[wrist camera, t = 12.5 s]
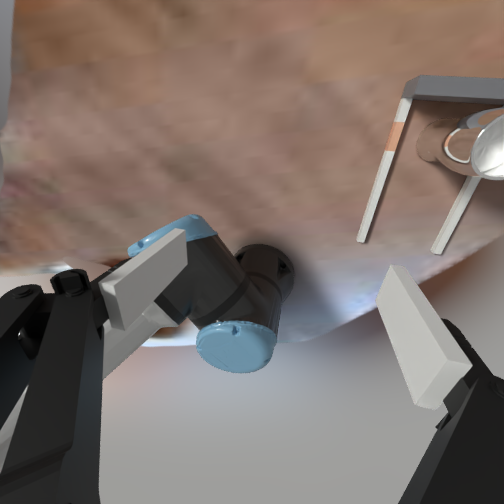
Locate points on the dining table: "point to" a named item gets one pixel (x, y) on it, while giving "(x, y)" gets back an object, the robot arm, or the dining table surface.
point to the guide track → (414, 89)
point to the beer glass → (467, 144)
